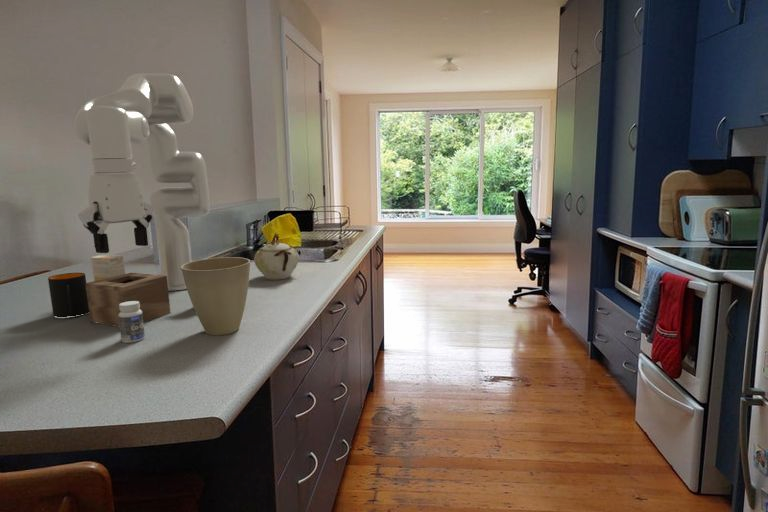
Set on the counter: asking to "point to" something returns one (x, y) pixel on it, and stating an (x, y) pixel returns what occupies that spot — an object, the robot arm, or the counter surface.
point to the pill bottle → (131, 322)
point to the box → (127, 296)
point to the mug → (68, 294)
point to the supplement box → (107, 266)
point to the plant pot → (218, 292)
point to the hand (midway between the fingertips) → (123, 248)
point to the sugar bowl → (276, 260)
